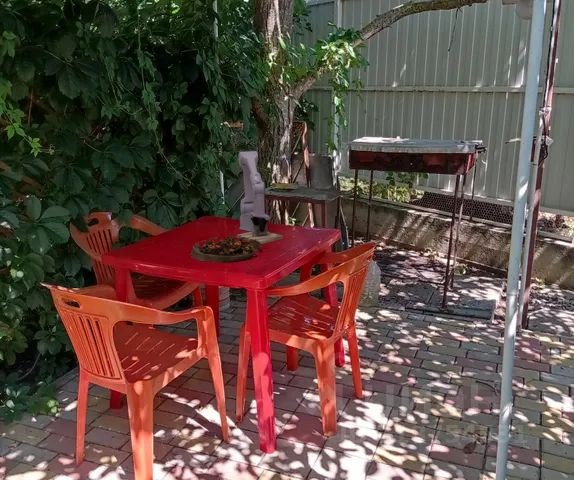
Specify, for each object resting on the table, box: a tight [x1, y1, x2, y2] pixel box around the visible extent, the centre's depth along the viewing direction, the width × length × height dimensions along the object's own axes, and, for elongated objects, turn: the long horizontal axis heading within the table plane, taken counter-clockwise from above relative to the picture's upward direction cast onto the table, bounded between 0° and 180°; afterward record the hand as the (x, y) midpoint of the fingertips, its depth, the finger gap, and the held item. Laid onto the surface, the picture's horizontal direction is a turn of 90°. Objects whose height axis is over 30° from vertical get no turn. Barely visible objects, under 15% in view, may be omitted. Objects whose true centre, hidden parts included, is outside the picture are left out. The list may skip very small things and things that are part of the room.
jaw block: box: [254, 224, 268, 236], centre depth 312 cm, size 4×6×5 cm, turn 133°
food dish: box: [189, 235, 263, 263], centre depth 286 cm, size 35×33×8 cm
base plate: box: [236, 229, 284, 245], centre depth 312 cm, size 19×16×6 cm
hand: (259, 231), depth 312 cm, fingers closed on jaw block, 4 cm apart
